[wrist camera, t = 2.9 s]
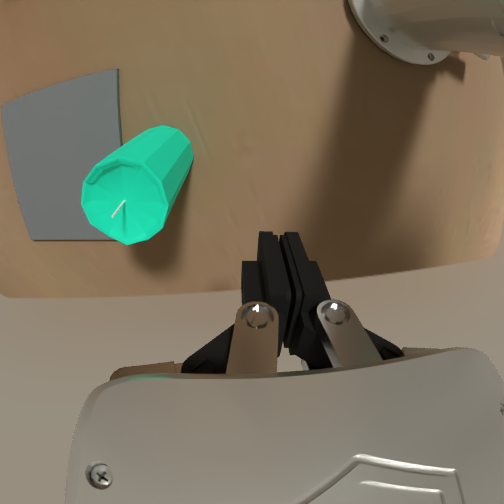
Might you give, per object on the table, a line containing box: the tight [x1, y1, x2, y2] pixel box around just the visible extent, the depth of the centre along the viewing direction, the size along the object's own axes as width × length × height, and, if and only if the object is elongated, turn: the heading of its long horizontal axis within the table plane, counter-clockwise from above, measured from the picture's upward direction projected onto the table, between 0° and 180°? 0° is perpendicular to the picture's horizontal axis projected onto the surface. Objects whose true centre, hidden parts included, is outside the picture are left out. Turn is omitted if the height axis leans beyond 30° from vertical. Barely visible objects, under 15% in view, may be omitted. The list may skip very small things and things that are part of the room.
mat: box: [1, 69, 122, 240], centre depth 23 cm, size 16×18×1 cm
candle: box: [81, 125, 194, 245], centre depth 19 cm, size 6×6×12 cm
